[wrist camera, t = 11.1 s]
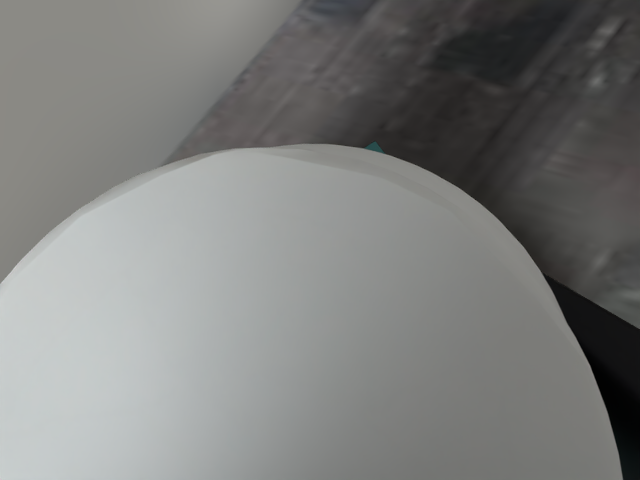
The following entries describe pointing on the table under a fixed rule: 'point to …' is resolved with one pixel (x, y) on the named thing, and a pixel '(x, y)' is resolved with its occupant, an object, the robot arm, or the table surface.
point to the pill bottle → (291, 333)
